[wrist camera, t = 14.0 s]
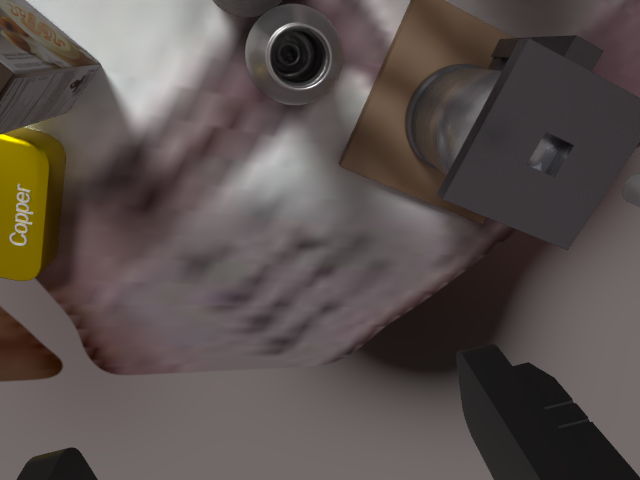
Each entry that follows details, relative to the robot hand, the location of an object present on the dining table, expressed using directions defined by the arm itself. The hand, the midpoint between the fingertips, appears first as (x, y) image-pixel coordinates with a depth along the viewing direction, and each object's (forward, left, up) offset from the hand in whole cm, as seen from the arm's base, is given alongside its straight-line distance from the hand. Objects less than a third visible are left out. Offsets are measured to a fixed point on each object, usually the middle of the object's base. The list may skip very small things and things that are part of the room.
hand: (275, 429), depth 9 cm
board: (-8, +17, -40) cm, 44 cm away
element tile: (+17, -25, -41) cm, 51 cm away
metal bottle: (-7, -1, -40) cm, 41 cm away
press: (-9, +17, -39) cm, 43 cm away
